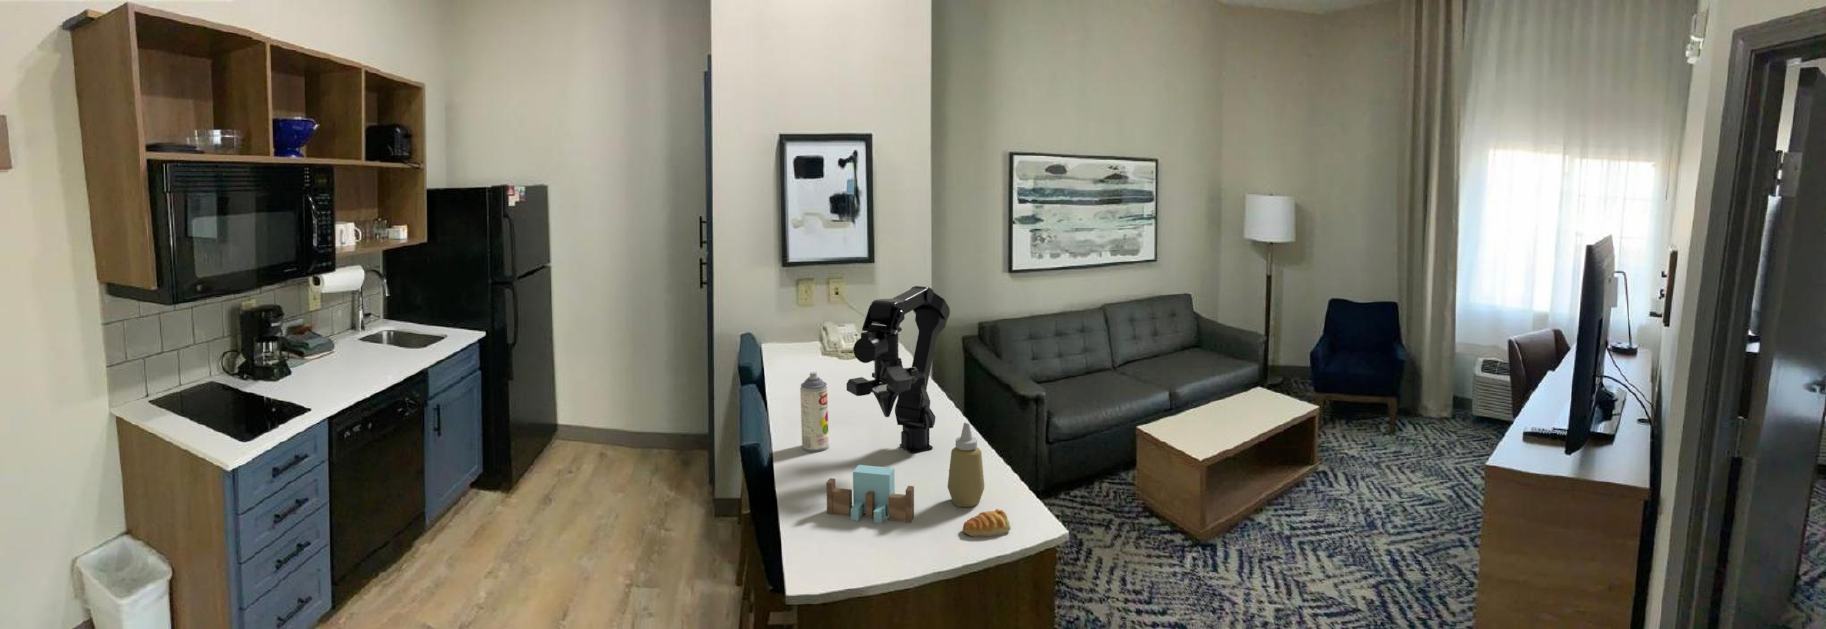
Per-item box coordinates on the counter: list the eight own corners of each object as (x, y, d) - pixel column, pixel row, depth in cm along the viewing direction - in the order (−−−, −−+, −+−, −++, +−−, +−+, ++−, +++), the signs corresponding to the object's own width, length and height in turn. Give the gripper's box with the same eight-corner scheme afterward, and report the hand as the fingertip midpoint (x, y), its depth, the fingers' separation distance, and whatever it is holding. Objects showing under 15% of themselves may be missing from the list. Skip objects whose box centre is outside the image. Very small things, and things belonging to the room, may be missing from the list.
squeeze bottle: (988, 497, 182) (989, 419, 178) (979, 512, 174) (980, 431, 171) (953, 492, 184) (953, 415, 181) (942, 506, 177) (942, 427, 173)
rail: (830, 508, 176) (830, 477, 175) (914, 517, 172) (914, 486, 170) (827, 513, 174) (826, 482, 172) (911, 522, 169) (911, 490, 168)
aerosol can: (824, 452, 208) (822, 376, 204) (798, 451, 210) (796, 375, 206) (831, 443, 215) (829, 369, 211) (806, 441, 216) (804, 368, 212)
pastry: (972, 542, 161) (972, 524, 160) (956, 528, 167) (956, 511, 166) (1013, 533, 165) (1013, 515, 164) (996, 520, 171) (996, 503, 170)
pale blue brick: (859, 503, 178) (858, 464, 177) (894, 507, 177) (894, 467, 175) (847, 519, 171) (846, 478, 169) (884, 523, 169) (884, 482, 167)
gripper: (867, 366, 181) (868, 433, 184) (938, 355, 191) (938, 419, 194) (844, 355, 191) (846, 419, 194) (913, 345, 200) (913, 406, 203)
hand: (886, 416), depth 196 cm, fingers closed
